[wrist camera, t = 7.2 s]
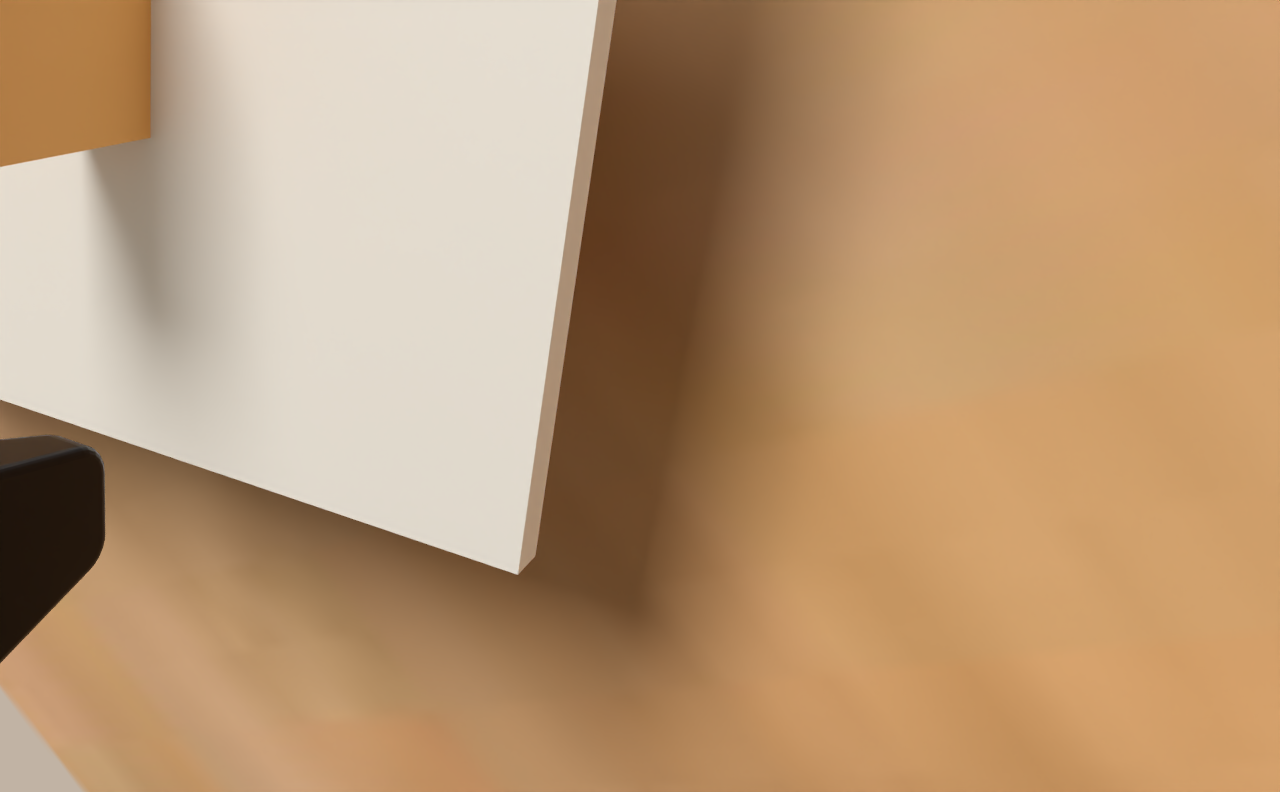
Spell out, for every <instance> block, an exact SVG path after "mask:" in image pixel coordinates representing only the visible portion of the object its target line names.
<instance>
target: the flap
mask: <svg viewBox="0 0 1280 792" xmlns="http://www.w3.org/2000/svg"><path fill="white" fill-rule="evenodd" d="M616 1H617V0H0V400H3V401H6V402H9V403H12V404H15V405H18V406H21V407H24V408H27V409H30V410H33V411H36V412H39V413H41V414H44V415H47V416H50V417H53V418H56V419H59V420H62V421H65V422H68V423H71V424H74V425H77V426H80V427H83V428H86V429H89V430H92V431H95V432H98V433H101V434H103V435H106V436H109V437H112V438H115V439H118V440H121V441H124V442H127V443H130V444H133V445H136V446H139V447H142V448H145V449H148V450H151V451H154V452H157V453H160V454H162V455H165V456H168V457H171V458H174V459H177V460H180V461H183V462H186V463H189V464H192V465H195V466H198V467H201V468H204V469H207V470H210V471H213V472H216V473H219V474H222V475H224V476H227V477H230V478H233V479H236V480H239V481H242V482H245V483H248V484H251V485H254V486H257V487H260V488H263V489H266V490H269V491H272V492H275V493H278V494H281V495H284V496H286V497H289V498H292V499H295V500H298V501H301V502H304V503H307V504H310V505H313V506H316V507H319V508H322V509H325V510H328V511H331V512H334V513H337V514H340V515H343V516H346V517H348V518H351V519H354V520H357V521H360V522H363V523H366V524H369V525H372V526H375V527H378V528H381V529H384V530H387V531H390V532H393V533H396V534H399V535H402V536H405V537H408V538H410V539H413V540H416V541H419V542H422V543H425V544H428V545H431V546H434V547H437V548H440V549H443V550H446V551H449V552H452V553H455V554H458V555H461V556H464V557H467V558H470V559H472V560H475V561H478V562H481V563H484V564H487V565H490V566H493V567H496V568H499V569H502V570H505V571H508V572H511V573H514V574H517V575H518V574H519V573H520V572H521V571H522V570H523V569H524V568H525V567H526V566H527V565H528V563H529V562H530V561H531V560H532V559H533V558H534V557H535V555H536V548H537V542H538V535H539V528H540V521H541V514H542V507H543V501H544V494H545V487H546V480H547V473H548V466H549V460H550V453H551V446H552V439H553V432H554V425H555V419H556V412H557V405H558V398H559V391H560V384H561V377H562V371H563V364H564V357H565V350H566V343H567V336H568V330H569V323H570V316H571V309H572V302H573V295H574V289H575V282H576V275H577V268H578V261H579V254H580V248H581V241H582V234H583V227H584V220H585V213H586V206H587V200H588V193H589V186H590V179H591V172H592V165H593V159H594V152H595V145H596V138H597V131H598V124H599V118H600V111H601V104H602V97H603V90H604V83H605V77H606V70H607V63H608V56H609V49H610V42H611V35H612V29H613V22H614V15H615V8H616Z"/></svg>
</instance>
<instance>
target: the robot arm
mask: <svg viewBox="0 0 1280 792" xmlns="http://www.w3.org/2000/svg"><path fill="white" fill-rule="evenodd" d="M104 541H105V471H104V463H103V461H102V458H101V456H100V454H99V453H98V452H97V451H96V450H95V449H93V448H92V447H89V446H86V445H83V444H80V443H77V442H75V441H72V440H69V439H66V438H63V437H60V436H55V435H40V436H30V437H20V438H10V439H0V663H1V662H2V661H3V660H4V659H5V658H6V657H7V656H8V655H9V653H10V652H11V651H12V650H13V649H14V648H15V647H16V646H17V645H18V644H19V643H20V642H21V641H22V640H23V639H24V638H25V637H26V636H27V635H28V634H29V633H30V632H31V631H32V630H33V629H34V627H35V626H36V625H37V624H38V623H39V622H40V621H41V620H42V619H43V618H44V617H45V616H46V615H47V614H48V613H49V612H50V611H51V610H52V609H53V608H54V607H55V606H56V605H57V604H58V603H59V601H60V600H61V599H62V598H63V597H64V596H65V595H66V594H67V593H68V592H69V591H70V590H71V589H72V588H73V587H74V586H75V585H76V584H77V583H78V582H79V581H80V580H81V579H82V578H83V577H84V575H85V574H86V573H87V572H88V571H89V570H90V569H91V568H92V567H93V566H94V564H95V563H96V561H97V559H98V558H99V556H100V553H101V551H102V549H103V545H104Z"/></svg>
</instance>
